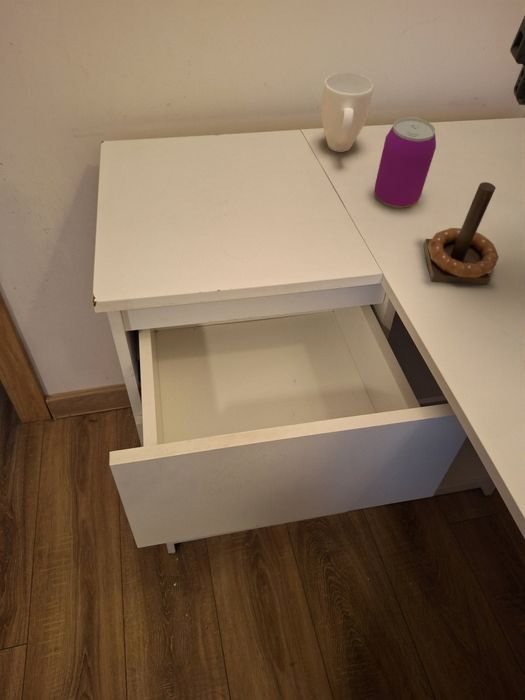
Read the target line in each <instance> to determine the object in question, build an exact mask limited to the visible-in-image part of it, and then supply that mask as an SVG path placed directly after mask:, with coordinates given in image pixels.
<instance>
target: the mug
mask: <svg viewBox="0 0 525 700" xmlns="http://www.w3.org/2000/svg"><path fill="white" fill-rule="evenodd" d="M323 83H324V84H323V89H322V98H321V109H320V110H321V111H320V112H321V123H322V126H323V131H324V135H325V140H326V143H327V147H328V148H329V149H330V150H331V151H334V152H337V153H343V152H348V151H350V150H351V148H352V146H353V145H354V143H355V141H356V140H357V138H358V136H359V135H360V133H361V132H362V130H363V128H364V127H365V124H366V122H367V119H368V116H369V114H370V108H371V103H372V99H373V94H374V93H373V92H374V83H373V81H372V80H371V79H370V78H369V77H367V76H366V75H363V74H361V73H356V72H351V71H340V72H334V73H332V74H330V75H328V76H327V77H326V78H325V80H324V82H323Z"/></svg>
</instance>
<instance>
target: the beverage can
mask: <svg viewBox="0 0 525 700" xmlns="http://www.w3.org/2000/svg"><path fill="white" fill-rule="evenodd" d="M436 137H437V136H436V128H435V126H434V125H433V124H432V123H431V122H429V121H428V120H425V119H422V118H418V117H403V118H399V119H397V120H396V121H395V122H394V123H393V125H392V127H391V129H390V130H389V132H388V133H387V134H386V135H385V139H384V144H383V148H382V152H381V157H380V160H379V165H378V170H377V173H376V174H377V175H376V178H375V183H374V195H375V196H376V197H377V198H378V199H379V201H380V202H381V203H383V204H384V205H386V206H387V207H392V208H397V209H400V208H406V207H410V206H412V205H414V204H416V203H417V202H418V201H419V199H420V198H421V195H422V193H423V190H424V187H425V183H426V181H427V178H428V173H429V171H430V168H431V164H432V161H433V158H434V155H435V152H436V148H437V139H436Z"/></svg>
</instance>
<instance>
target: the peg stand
mask: <svg viewBox="0 0 525 700" xmlns="http://www.w3.org/2000/svg"><path fill="white" fill-rule="evenodd" d="M495 191H496V186H495V185H494V184H493V183H491V182H487V181H483V182H481V183H479V185H478V187H477V189H476V192H475V194H474V197H473V199H472V201H471V204H470V206H469V209H468V212H467V214H466V216H465V218H464V221H463V223H462V226H461V227H460V228H461V231H460V233H459V235H458V238H457V240H456V242H449V243H447V244H445V245H444V247H443V248H444V251H445V252H446V253H447V254H448V255H449V256H450V257H451V258H453V259H455V260H458V261H460V262H463V263H477V262H479V261H481V260H482V258H483V257H482V254H481V252H480V251H478V250H477V249H476V248H475V247H474V246H471V243H472V240H473V238H474V236H475V234H476V232H477V231H478V230H479V227H480V224H481V222H482V220H483V218H484V215H485V213H486V212H487V209H488V207H489V204H490V203H491V200H492V198H493V195H494V193H495ZM431 240H432V238H425V240H424V242H423V248H424V253H425V258H426V262H427V267H428V272H429V277H430V281H431V282H437V283H439V282H440V283H453V284H455V283H457V284H471V285H473V284H474V285H488V284H489V282H490V280H491V276H490V272H489V273H487V274H485V275H482V276H480V277H477V278H472V277H458V276H456V275H453V274H451V273H448V272H446V271H443V270H442V269H441V268H440V267H439V266H438V265H437V264H436V263H434V262H433V261H432V259H431V256H430V252H429V248H428V245H429V243H430V241H431Z"/></svg>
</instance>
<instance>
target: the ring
mask: <svg viewBox="0 0 525 700" xmlns="http://www.w3.org/2000/svg"><path fill="white" fill-rule="evenodd" d="M461 228H462V227H448V228H446V229H443V230H441V231H438V232H436V233H435V234H434V235H433V237H432V238H431V239H432V240H431V241H430V243H429V245H428V248H429V252H430V256H431V259H432V261H433V262H434V263H436V264H437V265H438V266H439V267H440V268H441V269H442V270H443V271H446V272H448V273H451V274H453V275H456V276H458V277H472V278H477V277H480V276H482V275H485V274H487V273H489V274H490V273H491V272H492V271H494V269H495V267H496V266H497V263H498V262H499V254H498V251H497V249H496V246H495V243H493V241H491V240H490V239H489V238H487V237H486V236H485V235H484V234H482V233H479V232H477V231H476V234H475V236H474V238H473V240H472V243H471V246H474V247H475V248H476V249H477V250H478V251H480V252H481V254H482V257H483V258H482V260H481V261H479V262H477V263H463V262H460V261H458V260H455V259H453V258H451V257H450V256H449V255H448V254H447V253H446V252H445V251H444V248H443V247H444V245H445V244H447V243H449V242H456V240H457V238H458V235H459V233H460V231H461Z"/></svg>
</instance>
